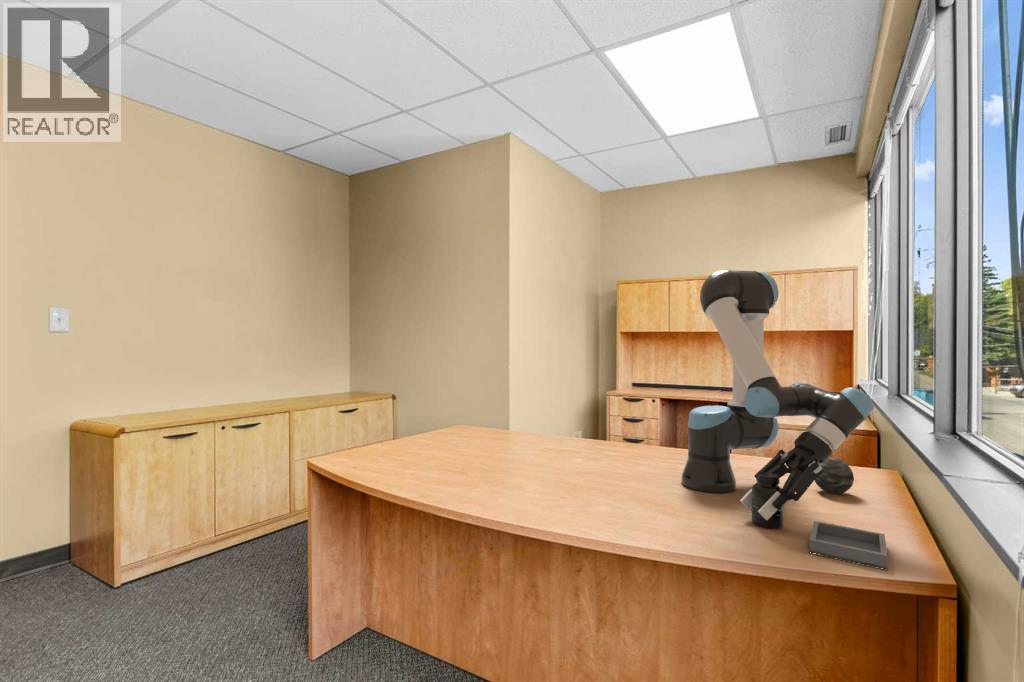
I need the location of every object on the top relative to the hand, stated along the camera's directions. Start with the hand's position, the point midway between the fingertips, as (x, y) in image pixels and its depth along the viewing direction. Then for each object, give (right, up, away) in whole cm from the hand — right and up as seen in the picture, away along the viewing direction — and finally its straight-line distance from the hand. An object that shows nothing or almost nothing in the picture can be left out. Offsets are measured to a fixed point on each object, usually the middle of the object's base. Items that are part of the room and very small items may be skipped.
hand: (753, 510), depth 119 cm
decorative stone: (+35, -4, +25) cm, 43 cm away
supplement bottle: (+3, -4, 0) cm, 5 cm away
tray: (+13, -4, -14) cm, 19 cm away
